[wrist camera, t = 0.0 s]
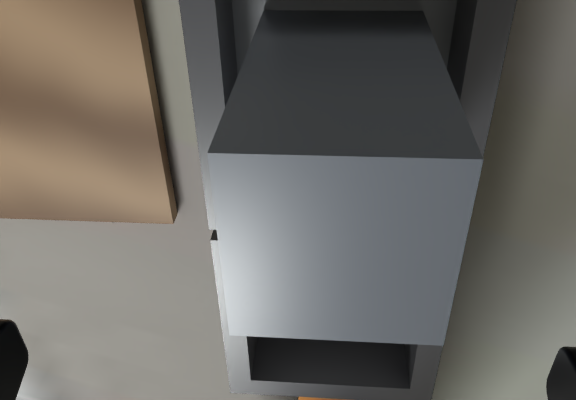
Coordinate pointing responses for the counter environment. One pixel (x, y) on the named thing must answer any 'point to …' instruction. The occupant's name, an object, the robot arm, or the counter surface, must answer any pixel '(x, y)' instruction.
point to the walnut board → (80, 114)
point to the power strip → (207, 113)
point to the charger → (343, 180)
